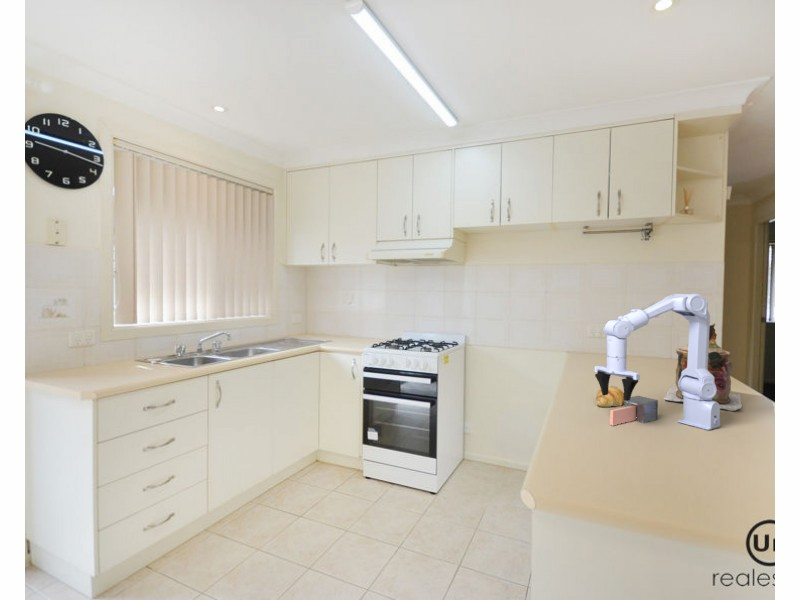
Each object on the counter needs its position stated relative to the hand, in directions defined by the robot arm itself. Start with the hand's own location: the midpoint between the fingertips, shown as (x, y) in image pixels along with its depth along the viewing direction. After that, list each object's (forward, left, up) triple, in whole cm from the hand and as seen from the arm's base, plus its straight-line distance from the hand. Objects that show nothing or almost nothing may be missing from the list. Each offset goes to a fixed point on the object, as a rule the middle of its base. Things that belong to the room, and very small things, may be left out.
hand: (615, 397), depth 133 cm
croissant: (+18, -23, -10) cm, 31 cm away
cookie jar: (+2, -61, -10) cm, 62 cm away
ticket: (0, -4, -9) cm, 10 cm away
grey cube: (0, -14, -9) cm, 17 cm away
